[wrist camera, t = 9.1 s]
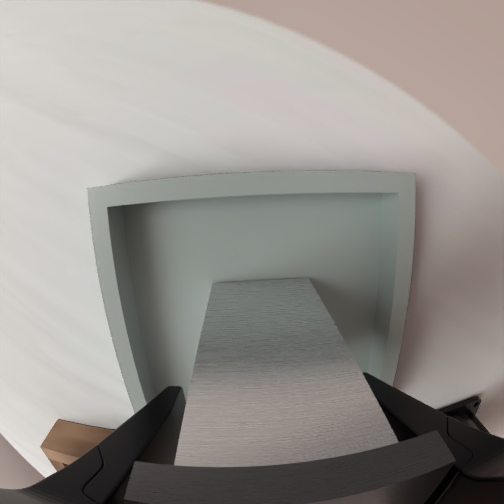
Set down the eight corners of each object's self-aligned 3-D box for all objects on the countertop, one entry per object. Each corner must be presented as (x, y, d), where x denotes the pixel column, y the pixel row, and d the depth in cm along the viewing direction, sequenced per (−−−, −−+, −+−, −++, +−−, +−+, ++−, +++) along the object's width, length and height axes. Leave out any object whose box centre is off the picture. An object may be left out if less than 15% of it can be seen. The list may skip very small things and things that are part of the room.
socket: (163, 435, 15) (154, 471, 13) (187, 497, 17) (183, 526, 14) (57, 419, 15) (40, 446, 12) (96, 483, 17) (87, 508, 14)
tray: (392, 173, 12) (415, 173, 10) (370, 401, 15) (382, 423, 13) (108, 186, 12) (87, 188, 10) (152, 415, 15) (144, 439, 13)
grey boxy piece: (320, 265, 13) (455, 460, 3) (315, 363, 14) (378, 551, 4) (199, 272, 13) (123, 498, 3) (211, 369, 14) (191, 570, 4)
